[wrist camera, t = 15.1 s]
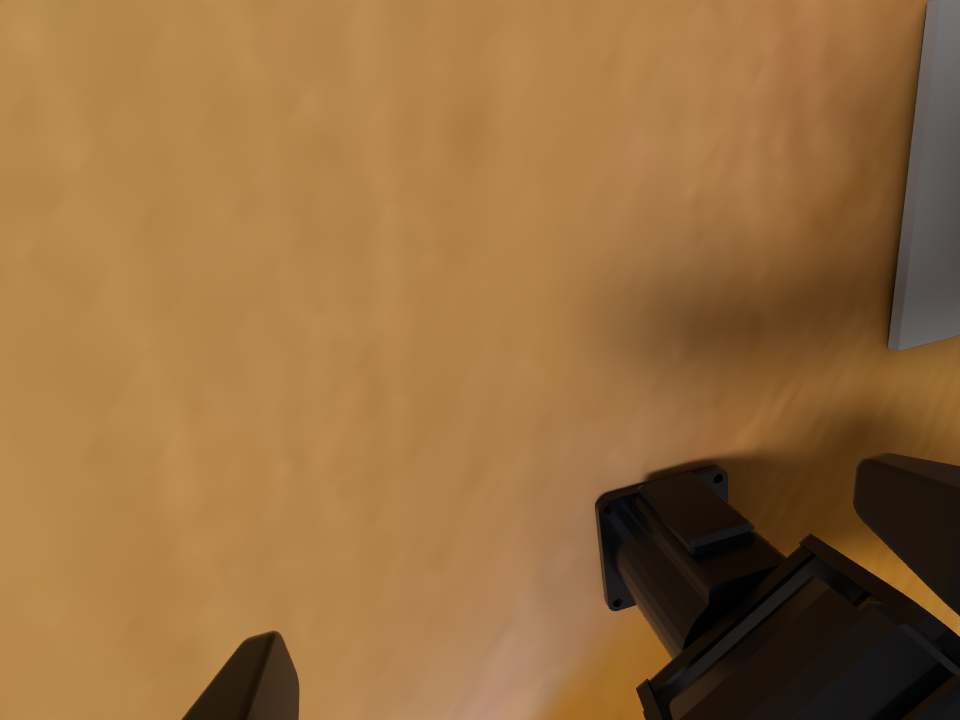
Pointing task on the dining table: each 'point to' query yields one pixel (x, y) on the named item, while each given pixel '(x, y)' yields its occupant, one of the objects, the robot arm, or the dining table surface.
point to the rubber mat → (932, 193)
